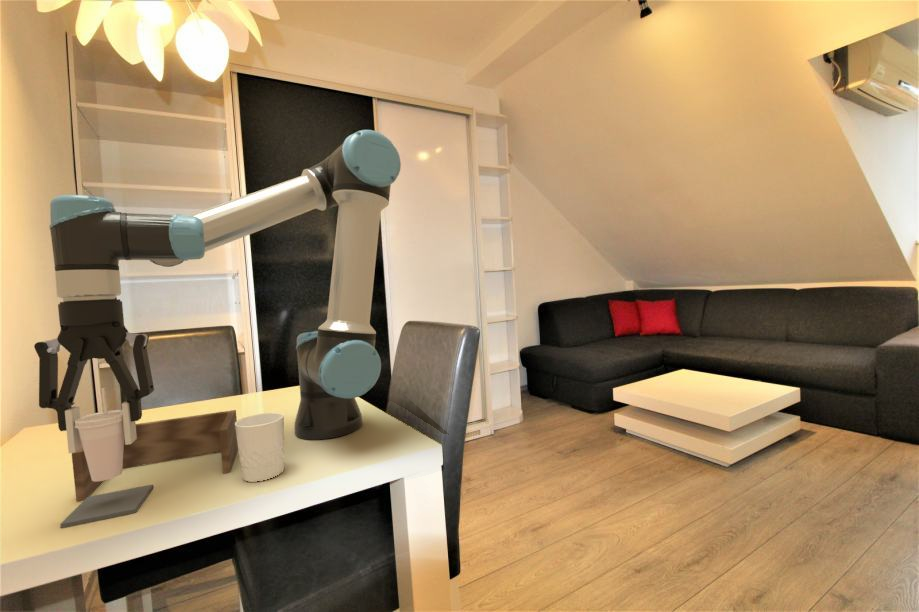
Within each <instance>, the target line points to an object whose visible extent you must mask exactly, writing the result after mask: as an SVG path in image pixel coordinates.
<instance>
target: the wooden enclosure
mask: <svg viewBox="0 0 919 612" xmlns="http://www.w3.org/2000/svg"><path fill="white" fill-rule="evenodd" d="M236 421H238V419H237V410H236V409H232V410H225V411H219V412H213V413H211V412H210V413H206V414H205V413H204V414H196V415H190V416H185V417H184V416H183V417H176V418H169V419H163V420H155V421H149V422H143V423H142V422H141V423H136V434H137V439H136V440H135V441H134V442H133V443H132V444H128V445H125V436H124V450H123V467H122V470H124V469H127V468H128V467H129V468H133V467H132V466H135V467H139V466H138V465H140V466H144V465H143V464H146V465H151V464H150V463H152V464H157V463H162V462H168V461H174V460H180V459H181V460H182V459H186V458H191V457H192V456H193V457H198V456H204V455H210V454H215V453H214V452H216V453H221V466H222V474H227V473H231V472H232V471H231V470H232V468H233V465H234V462H235V460H236V456H237V453H238V445H237V437H236V429H235V422H236ZM209 453H210V454H209ZM203 454H204V455H203ZM197 455H198V456H197ZM193 457H192V458H193ZM71 462H72V470H73V471H72V472H73V480H74V481H73V483H74V490H75V501H76V502H81V501H84V500H85V499H86V498H87V497H89V496H92V494H93V493H94V492H95V491H96V490H97V489H98V488H99V487H100V486H101V485H102V484H103V483H104V482H103V481H97V482H95V481H92V479H91V475H90V472H89V468H88V464H87V461H86V457H85V453H84V449H83V447H82V448H81V449H79V450H78V451H76V452H75V453H71ZM129 468H128V469H129ZM102 482H103V483H102ZM101 483H102V484H101ZM100 484H101V485H100ZM99 485H100V486H99ZM98 486H99V487H98ZM97 487H98V488H97ZM96 488H97V489H96ZM95 489H96V490H95ZM94 490H95V491H94Z"/></svg>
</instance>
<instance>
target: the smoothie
mask: <svg viewBox="0 0 919 612" xmlns="http://www.w3.org/2000/svg"><path fill="white" fill-rule="evenodd" d="M100 390H101V401H102V411H99V412H96V413H95V412H94V413H90V414H87V415H83V416H80V418H78V419H76V420H75V428H78V431H79V435H80V439H81V442H82V446H83V449H84V453H85V457H86V461H87V464H88V468H89V472H90V475H91V479H92V481H95V482H97V481H104V480H105V481H108V480H111V479H115V478H117V477H119V476H120V475H122V474H123V469H122V467H123V450H124V424H123V413H122V409H114V410H113V409H112V410H109V409H108V398H107V387H106V386H103V387H101V388H100ZM105 481H104V482H105Z"/></svg>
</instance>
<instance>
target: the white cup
mask: <svg viewBox="0 0 919 612" xmlns="http://www.w3.org/2000/svg"><path fill="white" fill-rule="evenodd" d="M284 418H285V417H284V414H283V413H280V412H263V413H255V414H252V415H247V416H245V417H242V418H240V419H237V421H236V422H235V429H236V437H237V445H238V451H237V453H238V455H239V458H238V459H239V462H240V463H239V464H240V465H241V467H240V468H241V476H242V479H243V481H244V482H245V481H246V482H247V481H248V482H250V483H258V482H257V481H260V482H264V481H263V480H265V481H268V480H267V479H269V480H271V479H270V478H272V479H274V478H276V477H278V476H280V475H281V474H282V473H283V472H284V469H285V463H284V462H285V461H284V458H285V423H284V422H285V419H284ZM281 472H282V473H281ZM280 473H281V474H280ZM279 474H280V475H279ZM277 475H278V476H277ZM275 476H276V477H275ZM273 477H274V478H273Z"/></svg>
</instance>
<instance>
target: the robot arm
mask: <svg viewBox="0 0 919 612" xmlns="http://www.w3.org/2000/svg"><path fill="white" fill-rule="evenodd" d="M401 163H402V162H401V158H400V154H399V151H398V149H397V148H396V146H394V144H393V142H392V141H391V140H390V139H389V138H388V137H387V136H385V135H384V134H383V133H381V132H379V131H376V130H372V129H362V130H358V131H356V132H354V133H352V134H350V135H348V136H347V137H346V138H345V139H344V141H343V143H341V145H340V146H338V147H337V148H336V149H335V150H334V151H333V152H332V153H331V154H330V155H329V156H327V157H326V158H325V159H324V160H322V161H321V162H319V163H317V164H314V165H313V166H311V167H308V168H304V169H303V170H302V172H301V175H300V176H297V177H294V178H291V179H288V180H286V181H282V182H280V183H277V184H274V185H271V186H269V187H265V188H263V189H259V190H257V191H255V192H251V193H248V194H245V195H242V196H239V197H237V198H234V199H232V200H228V201H225V202H223V203H220V204H217V205H214V206H210V207H207V208H206V209H203V210H200V211H197V212H194V213H191V214H189V215H182V214H179V213H175V214H160V213H159V214H155V213H131V212H129V213H127V212H121V211H116V209H115V207H114V203H113V202H112V201H111V200H109V199H108V198H104V197H100V196H91V195H85V194H84V195H83V194H64V195H63V194H62V195H58V196H56V197H54V198H53V199H51V200H50V204H49V206H50V207H49V208H50V214H49V215H50V225H49V231H50V237H51V246H52V254H53V262H54V273H55V275H54V276H55V289H56V297H58V299H62V301H60V302H59V304H57V309H58V310H57V311H58V320H59V327H60V332H59V333H58V335H57V338H53V339H50V340H44V341H38V342H36V343H35V344H34V346H33V347H34V350H35V352H36V354H37V356H38V358H39V362H38V363H39V364H38V365H39V367H38V370H39V371H38V375H39V376H38V406H39V407H40V408H41V409H53V410H55V412H56V413H57V414H56V415H57V424H58V429H59V431H60V432H65V431H66V437H67V438H66V441H67V449H68V454H72V453H75V452H76V451H78V450H79V449H81V448H82V447H83V446H82V442H81V439H80V435H79V431H78V428H75V420H76V419H78V418H80V417H81V412H80V411H81V409H80V405H75V402H74V401H75V397H76V395H77V394H76V393H77V391H78V388H79V384H80V382H81V378H82V375H83V372H84V370H85V365H87V363H88V361H89V360H92V359H98V360H99V359H100V360H101V359H104V361H105V363H106V364H107V365H109V367H110V369H111V371H112V373H113V376H114V377H115V379H116V380H117V383H118V384H119V387H120V389H121V390H122V392H123V394H124V396H125V398H126V400H125V401H123V402H122V403H121V410H122V413H123V424H124V436H125V445H128V444H132V443H133V442H134V441H135V440H136V439H137V434H136V424H137V422H138V421H140V420H141V419H142V417H143V409H142V408H143V407H142V398H145V397H147V396H149V395H151V394H152V393H153V392H154V391H155V385H154V381H153V375H152V370H151V365H150V359H149V354H148V349H147V346H148V342H149V340H150V339H149V338H150V335H149V334H148V333H142V334H141V333H133V332H129V330H128V329H127V327H126V326H125V320H124V319H125V318H124V307H123V306H124V305H123V301H122V300H121V299H118V298H117V296H121V294H122V286H121V273H120V272H121V271H120V266H119V262H120V261H150V262H151V263H153V264H155V265H156V266H157V265H158V266H162V267H165V268H166V267H167V268H169V267H175V266H178V265H180V264H182V263H183V262H187V261H189V260H192V261H194V260H201V259H203V258H204V257H205V254H206V253H207V252H208V251H211V250H213V249H217V248H219V247H221V246H224V245H226V244H229V243H232V242H234V241H236V240H239V239H242V238H244V237H246V236H249V235H252V234H254V233H257V232H259V231H262V230H264V229H267V228H270V227H272V226H275V225H277V224H279V223H282V222H284V221H287V220H290V219H292V218H296V217H297V216H300V215H303V214H306V213H308V212H310V211H312V210H316V209H317V210H319V211H326V210H328V209H331V208H333V207H337V206H338V209H337V210H338V211H337V220H336V221H337V222H336V230H335V240H334V249H333V260H332V267H331V268H332V269H331V277H330V285H329V286H330V289H329V298H328V306H327V316H326V317H327V318H326V320H325V322H323V323H322V324H320V325H319V326H318V329H317V330H316V331H309V332H303V333H300V334H298V336H297V337H296V346H295V350H296V356H297V366H298V367H297V368H298V369H297V370H298V379H299V380H298V381H299V382H298V383H299V395H300V401H299V405H298V409H297V413H296V418H295V421H294V434H295V436H296V437H297V438H300V439H303V440H327V439H333V438H337V437H342V436H346V435H348V434H351V433H353V432H356V431H357V430H359V429H360V428H361V427H362V426H363V415H362V412H361V409H360V407H359V405H358V402H357V400H356V398H358V397H361V396H363V395H365V394H366V393H367V392H369V391H370V390H371V389H372V388H373V387H374V386H375V385H376V383H377V381H378V379H379V378H380V375H381V371H382V370H381V369H382V362H381V357H380V355H379V353H378V351H377V349H376V348H375V347H376V338H377V336H376V335H377V331H376V330H375V329H374V327H373V326H372V325H371V323H370V322H371V321H370V320H371V312H372V311H371V310H372V301H373V292H374V282H375V281H374V280H375V269H376V261H377V252H378V240H379V232H380V231H379V230H380V221H381V220H380V219H381V212H382V211H383V210H384V209H385V208H387V207H388V206H389V204H390V196H391V185H392V184H394V183H395V181H396V180H397V178H398V176H399V175H400V173H401V167H402V166H401V165H402V164H401ZM205 252H206V253H205ZM126 340H127V341H128V342H129V343H128V344H129V346H130V347H132V354H133V359H134V365H135V370H136V377H137V380H138V384H137V383H136V381H135V379H134V377H133V375H132V372H131V371H130V369H129V367H128V365H127V363H126V362H125V358H124V355H123V353H122V351H121V349H120V348H121V347H122V346H123V345H124V343H125V342H126ZM60 346H62V347H63V348H64V349H65V350H66V351H67V352H69V356H68V360H67V368H66V372H65V374H64V377H63V380H62V384H61V387H60V390H59V355H58V353H59V352H60V350H61V349H60ZM58 390H59V393H58ZM73 405H75V406H73Z"/></svg>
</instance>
